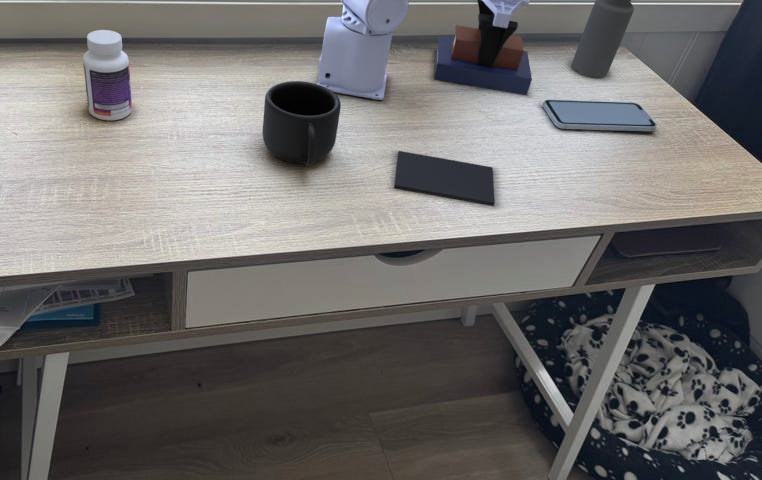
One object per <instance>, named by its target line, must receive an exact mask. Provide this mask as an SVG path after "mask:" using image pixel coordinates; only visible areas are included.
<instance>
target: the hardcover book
mask: <svg viewBox="0 0 762 480" xmlns="http://www.w3.org/2000/svg"><path fill="white" fill-rule="evenodd" d="M454 39H455V38H450V37H446V36H441V35H439V36H438V39H437V41H438V43H437V49H435V51H434V52H435V53H434V71H433V79H434V80H438V81H443V82H448V83H455V84H461V85H465V86H473V87H478V88H484V89H488V90H489V89H490V90H495V91H501V92H507V93H513V94H514V93H515V94H519V95H525V96H526V95H528V92H529V89H530V87H531V85H532V81H533V78H532V72H531V66H530V65H531V64H530V59H529V53H528V51H527V50H524V52H523V55H522V58H521V61H520V64H519V67H518V70H513V69H508V68H502V67H496V66H487V65H481V64H478V63H472V62H466V61H461V60H455V59H451V44H452V42H454Z"/></svg>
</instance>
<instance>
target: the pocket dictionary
mask: <svg viewBox="0 0 762 480" xmlns="http://www.w3.org/2000/svg"><path fill="white" fill-rule="evenodd" d="M453 39H454V42H452V44H451V59H455V60H461V61H466V62H472V63H478V51H479V44H480V29H478V28H477V27H469V26H464V25H457V24H456V25H455V36H454V38H453ZM524 51H525V50H524V45H523V38H522V35H517V34H512V35H511V36H510V37H509V38H508V39H507V41H506V42H505V43H504V45H503V47H502V48H501V50H500V52H499V54H498V56H497V58H496V60H495V61H494V63H493V65H492V66H496V67H502V68H508V69H513V70H518V67H519V64H520V61H521V58H522V55H523V52H524Z"/></svg>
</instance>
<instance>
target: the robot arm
mask: <svg viewBox="0 0 762 480" xmlns="http://www.w3.org/2000/svg"><path fill="white" fill-rule="evenodd" d="M530 1H531V0H477V1H476V2H477V5H478V15H477V20H478V28H477V29H480V44H479V51H478V64H481V65H487V66H492V65H493V63H494V61H495V60H496V58H497V56H498V54H499V52H500V50H501V48H502V47H503V45H504V43H505V42H506V41H507V39H508V38H509V37H510V36H511V35H514V33H515V32H516V31H517V29H518V27H519V23H518V21H513V20H511V17H512V15H513V14H514V13H515V12H516V11H517V10H518V9H519V8H520V7H521V6H524V7H525V6H529V5H530ZM340 2H341V3H342V12H341V13H342V14H341V16H328V17H327V20H326V24H325V29H324V34H323V40H322V48H321V54H320V57H319V61H318V77H317V78H318V79H317V84H318V85H321V86H324V87H326V88H328V89H329V90H331V91H332V92H334V93H336V94H343V95H349V96H354V97H360V98H366V99H372V100H378V101H382V100H384V97H385V91H386V85H387V79H388V73H386V72H387V71H386V70H387V67H388V66H387V64H388V61H389V55H390V50H391V45H392V40H393V34H395V31H396V29H397V28H399V26H401V24H402V23H403V22H404V20H405V18H406V16H407V15H408V12H409V5H410V3H409V0H340Z"/></svg>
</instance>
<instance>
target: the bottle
mask: <svg viewBox="0 0 762 480" xmlns="http://www.w3.org/2000/svg"><path fill="white" fill-rule="evenodd" d="M634 10H635V7H634V5H633V3H632V0H595V1H594V3H593V6H592V7H591V11H590V14H589V16H588V19H587V22H586V25H585V26H584V29H583V32H582V35H581V38H580V40H579V43H578V45H577V48H576V51H575V53H574V56H573V59H572V62H571V65H570V66H571V68H572V70H574V71H575V72H576V73H578V74H580V75H581V76H585V77H588V78H592V79H593V78H594V79H600V78H605V77H607V75H608V74H609V71H610V69H611V67H612V64H613V62H614V60H615V57H616V55H617V53H618V50H619V47H620V45H621V43H622V40H623V38H624V36H625V33H626V31H627V29H628V26H629V24H630V21H631V19H632V16H633V14H634Z"/></svg>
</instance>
